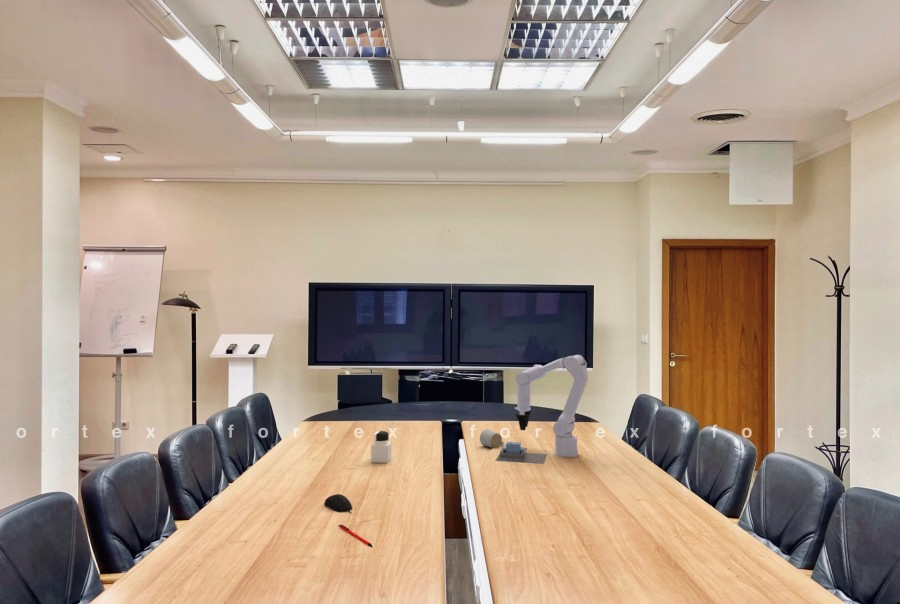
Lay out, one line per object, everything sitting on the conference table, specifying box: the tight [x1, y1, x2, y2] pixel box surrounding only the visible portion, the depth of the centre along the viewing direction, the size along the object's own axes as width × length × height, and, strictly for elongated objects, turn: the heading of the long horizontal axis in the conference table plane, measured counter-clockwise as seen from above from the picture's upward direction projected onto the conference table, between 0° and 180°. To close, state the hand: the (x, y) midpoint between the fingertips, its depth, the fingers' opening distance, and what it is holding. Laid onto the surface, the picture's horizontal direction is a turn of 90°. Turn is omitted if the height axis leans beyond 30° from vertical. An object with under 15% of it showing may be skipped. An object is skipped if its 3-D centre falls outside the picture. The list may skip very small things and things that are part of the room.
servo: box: [502, 440, 525, 454], centre depth 244 cm, size 9×4×6 cm, turn 77°
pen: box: [338, 524, 373, 548], centre depth 159 cm, size 1×19×1 cm, turn 38°
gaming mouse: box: [323, 493, 353, 515], centre depth 181 cm, size 6×15×4 cm, turn 41°
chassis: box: [495, 446, 548, 465], centre depth 240 cm, size 20×16×3 cm
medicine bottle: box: [370, 430, 392, 464], centre depth 238 cm, size 7×7×12 cm
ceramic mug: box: [479, 428, 505, 449], centre depth 262 cm, size 11×8×8 cm
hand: (523, 428), depth 255 cm, fingers open, 7 cm apart
